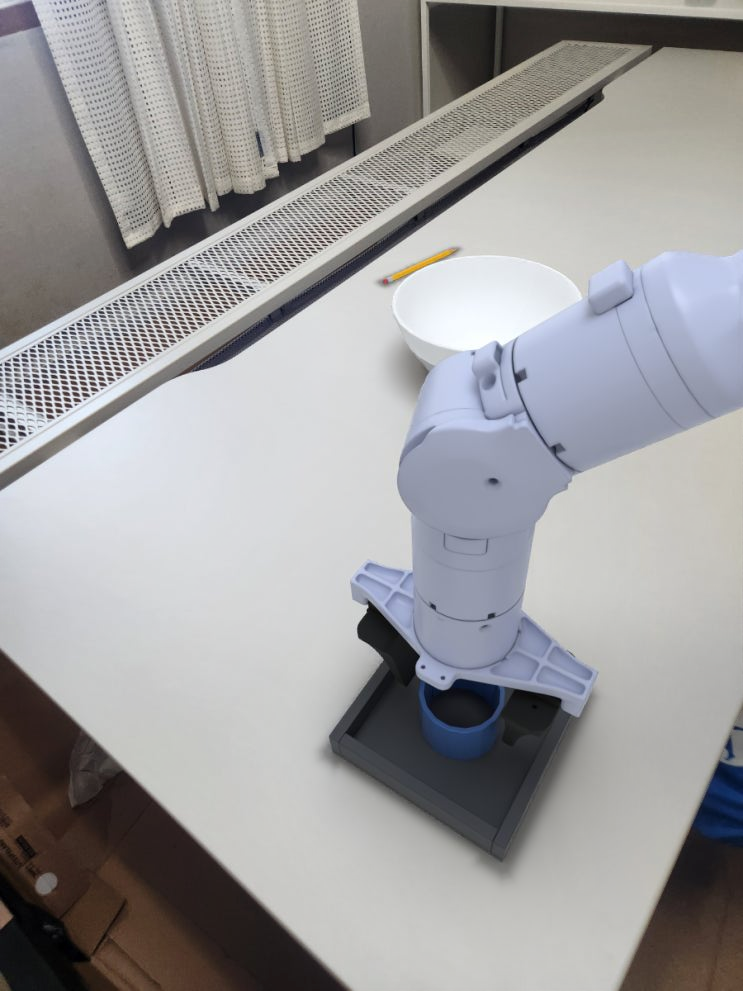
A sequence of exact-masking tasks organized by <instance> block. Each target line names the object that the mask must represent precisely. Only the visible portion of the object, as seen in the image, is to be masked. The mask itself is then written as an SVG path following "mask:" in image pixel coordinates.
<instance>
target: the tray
mask: <svg viewBox="0 0 743 991" xmlns="http://www.w3.org/2000/svg"><path fill="white" fill-rule="evenodd" d="M420 682H421V679H420V678H419V677H418V676H417V674H415V676H414V677H413V679H412V680H411V682H410V683H409V685H408V686H407V687H405V686H404V685H402V684H400V683H399V682H398V681H397V679H396V678H395V676H394V675H393V673H392V671H391V670H390V668H389V666H388V665H387V663H386V662H385V661H384V659H383V660H382V661H381V663H380V664H379V666H378V667H377V668H376V670H375V671H374V672H373V674H372V675H371V677H370V678H369V680H368V681H367V682H366V684H365V685H364V686H363V688H362V690H360V692H359V693H358V695H357V696H356V698H355V699H354V700H353V701H352V703H351V704H350V706H349V707H348V709H347V710H346V711H345V713H344V714H343V715H342V717H341V718H340V720H339V721H338V723H337V724H336V725H335V726H334V728H333V729H332V730H331V732H330V733H329V735H328V739H329V743H330V748H331V751H332V753H334V754H335V755H337V756H338V757H340V758H342V759H343V760H344V761H346V762H348V763H349V764H351V765H352V766H354V767H355V768H357V769H358V770H359V771H362V773H364V774H366V775H367V776H369V777H371V778H372V779H373V780H375V781H377V782H378V783H380V784H381V785H383V786H385V787H386V788H387V789H388V790H391V791H392V792H393V793H395V794H397V795H398V796H400V797H401V798H403V799H404V800H406V801H407V802H409V803H410V804H411V805H414V806H415V807H416V808H418V809H419V810H421V811H422V812H424V813H426V814H427V815H429V816H430V817H432V818H433V819H435V820H436V821H438V822H439V823H441V824H443V825H444V826H446V827H447V828H449V829H450V830H452V831H453V832H455V833H456V834H458V835H460V836H461V837H462V838H464V839H466V840H467V841H469V842H470V843H471V844H473V845H474V846H476V847H478V848H479V849H481V850H482V851H484V852H486V853H487V854H488V855H490V856H491V857H493V858H494V859H496V860H498V861H499V862H501V863H503V862H504V860H505V858H506V855H507V853H508V851H509V850H510V847H511V845H512V843H513V841H514V839H515V837H516V835H517V833H518V831H519V828H520V827H521V824H522V822H523V821H524V819H525V816H526V814H527V812H528V810H529V808H530V806H531V804H532V802H533V800H534V798H535V795H536V794H537V792H538V789H539V787H540V786H541V783H542V781H543V779H544V777H545V775H546V773H547V771H548V769H549V767H550V765H551V762H552V761H553V759H554V757H555V754H556V752H557V751H558V748H559V746H560V744H561V742H562V740H563V738H564V736H565V734H566V732H567V730H568V728H569V726H570V724H571V722H572V720H573V718H574V716H573V715H572V714H570V713H568V712H566V711H564V710H563V709H562V708H561V706H560V708H559V710H558V712H557V714H556V716H555V718H554V720H553V722H552V724H551V726H550V727H549V729H548V730H547V731H546V732H545V733H544V734H543V735H542V736H541V737H539V738H538V737H536V736H534V735H525V736H523V737H521V738H519V739H518V740H517V741H516V742H515V744H514V746H512V747H511V746H509V745H507V744H506V743H504V742H502V736H503V733H504V730H505V722H504V719H503V718H502V721H501V727H500V733H499V736H498V738H497V740H496V742H495V743H494V745H493V747H492V748H491V749H490V750H488V751H487V752H486V753H484V754H483V755H482V756H480V757H478V758H473V759H469V760H465V761H462V760H456V759H450V758H446V757H445V756H443V755H442V754H440V753H438V752H437V751H435V750H433V749H432V747H431V746H430V745H429V743H428V742H427V741H426V739H425V738H424V736H423V733H422V729H421V726H420V718H419V688H420ZM503 687H504V686H503ZM514 689H515V688H510V687H504V690H505V697H504V707H505V705H506V704H507V702H508V700H509V698H510V697H511V695H512V693H513V691H514ZM427 707H428V709H429V710H430V711H431V712H432V714H433V715H434V716H435V717H436V719H438V720H440V721H442V722H443V723H445V724H447V725H448V726H451V727H458V728H464V729H466V728H471V727H475V726H480V725H482V724H483V723H484V722H486V721H487V720H489V719H490V718H491V717H492V716H493V715H494V713H493V710H492V707H491V706H490V705H489V704H488V702H487V701H486V700H485V699H484V698H483V697H482V696H480V695H479V694H477V693H475V692H473V691H471V690H467V689H460V688H454V689H450V690H445V691H443V692H441V693H440V694H438V695H437V696H435V697H434V698H433V699H432V700H431V702H430V703H429V705H428V706H427ZM503 709H504V708H503Z"/></svg>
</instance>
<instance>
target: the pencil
mask: <svg viewBox="0 0 743 991" xmlns="http://www.w3.org/2000/svg"><path fill="white" fill-rule="evenodd" d="M457 250H458V248H452V249H447V250H445V251H442V252H440V253H438V254H436V255H434V256H432V257H430V258H427V259H425V260H423V261H420V262H419V263H417V264H414V265H412V266H410V267H408V268H406V269H404V270H401V271H399V272H397V273H395V274H393V275H390V276H388V277H386V278H384V279H382V284H384V285H387V284H389V283H391V282H394V281H396V280H398V279H400V278H402V277H405V276H406V275H410V274H412V273H414V272H416V271H418V270H420V269H422V268H424V267H426V266H428V265H431V264H434V263H436V262H437V261H439V260H441V259H443V258H446V257H447V256H450V255H452V254H453V253H454V252H456V251H457Z"/></svg>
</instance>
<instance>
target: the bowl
mask: <svg viewBox="0 0 743 991" xmlns="http://www.w3.org/2000/svg"><path fill="white" fill-rule="evenodd" d="M582 299H583V297H582V293H581V291H580V290H579V289H578V287H577V285H576V283H574V282H573V281H572V280H571V279H570V278H569V277H568V276H566V275H564V274H563V273H561V272H560V271H558V270H556V269H555V268H553V267H550V266H548V265H545V264H543V263H540V262H537V261H533V260H529V259H526V258H522V257H521V258H520V257H514V256H509V255H508V256H507V255H497V254H496V255H493V254H483V255H482V254H481V255H478V254H477V255H468V256H467V255H466V256H458V257H454V258H448V259H445V260H441V261H438V262H437V261H436V262H433V263H430V264H428V265H426V266H424V267H422V268H420V269H418V270H415V271H413V272H412V273H410V274H409V275H408V276H407V277H405V279H403V281H402V282H401V283H399V285H398V286H397V287H396V289H395V291H394V293H393V295H392V299H391V305H390V307H391V311H392V316H393V318H394V321H395V323H396V325H397V327H398V329H399V331H400V333H401V335H402V338H403V339H404V341H405V343H406V344H407V346H408V348H409V349H410V350H411V351H412V353H413V354H414V355H415V357H416V359H418V360H419V362H420V363H421V364H422V365H423V367H424V368H425V369H426V370H427V371H428V373H429V372H430V371H431V370H432V369H433V368H434V367H435V366H436V365H437V364H438V363H440V362H441V361H442V360H444V359H445V358H447V357H450V356H452V355H454V354H457V353H460V352H464V351H468V350H476V349H480V348H482V347H483V346H485V345H487V344H488V343H490V342H492V341H494V340H495V341H498V342H499V343H500V345H501V346H502V345H504V344H506V343H508V342H509V341H511V340H513V339H514V338H516V337H518V336H520V335H521V334H523V333H525V332H526V331H528V330H530V329H532V328H533V327H535V326H537V325H539V324H540V323H542V322H544V321H545V320H547V319H549V318H551V317H552V316H554V315H556V314H558V313H559V312H561V311H563V310H565V309H566V308H568V307H570V306H571V305H573V304H575V303H577V302H578V301H580V300H582Z"/></svg>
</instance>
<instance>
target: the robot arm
mask: <svg viewBox="0 0 743 991" xmlns="http://www.w3.org/2000/svg"><path fill="white" fill-rule="evenodd" d="M587 288H588V293H587V296H586V297H584V298H582V300H580V301H578V302H577V303H575V304H573V305H571V306H570V307H568V308H566V309H565V310H563V311H561V312H559V313H558V314H556V315H554V316H552V317H551V318H549V319H547V320H545V321H544V322H542V323H540V324H539V325H537V326H535V327H533V328H532V329H530V330H528V331H526V332H525V333H523V334H521V335H520V336H518V337H516V338H514V339H513V340H511V341H509V342H508V343H506V344H504V345H502V346H501V345H500V343H499V342H498V341H495V340H494V341H492V342H490V343H488V344H487V345H485V346H483V347H482V348H480V349H476V350H468V351H464V352H460V353H457V354H454V355H452V356H450V357H447V358H445V359H444V360H442V361H441V362H440V363H438V364H437V365H436V366H435V367H434V368H433V369H432V370H431V371H430V372H429V371H428V373H427V375H426V376H425V378H424V382H423V383H422V385H421V388H420V389H419V391H418V396H417V397H418V398H417V400H416V404H415V406H414V407H415V408H414V410H413V414H412V417H411V421H410V424H409V426H408V430H407V433H406V437H405V440H404V443H403V446H402V450H401V454H400V456H399V461H398V470H397V475H396V486H397V490H398V494H399V496H400V499H401V501H402V502H403V504H404V505H405V507H406V508H407V509H408V510H409V512H410V513H411V514H410V527H411V529H410V530H411V551H412V552H411V555H412V556H411V557H412V558H411V559H412V570H411V569H406V568H398V567H393V566H388V565H385V564H381V563H379V562H377V561H374V560H372V559H369V558H367V559H366V561H365V562H364V563H363V564H362V565H361V566H360V568H359V569H358V570H357V571H356V572H355V573H354V575H353V576H352V577H351V579H350V580H349V584H350V591H351V598H352V600H353V601H355V602H357V603H358V604H360V605H362V606H367V608H366V613H365V614H364V615H363V617H362V618H361V619H360V621H359V622H358V623H357V626H356V633H357V634H356V635H357V638H358V640H360V641H362V642H364V643H365V644H367V645H368V646H369V647H371V648H372V649H373V650H374V651H375V652H376V653H377V654H379V656H380V657H381V658H382V659H383V660H384V661H385V662H386V663H387V665H388V666H389V668H390V670H391V671H392V673H393V675H394V676H395V678H396V679H397V681H398V682H399V683H400V684H402V685H404V686H405V687H407V686H408V685H409V683H410V682H411V680H412V679H413V677H414V676H415V674H417V676H418V677H419V678H420V679H421V680H423V681H425V682H427V683H428V684H430V685H432V686H434V687H436V688H437V689H440V690H446V689H449V688H450V687H451V686H452V684H453V682H454V681H455V680H456V679H460V678H461V679H467V680H472V681H477V682H483V683H488V684H493V685H499V686H504V687H510V688H515V689H514V691H513V693H512V695H511V697H510V698H509V700H508V702H507V704H506V705H505V707H504V709H503V711H502V713H501V716H500V717H501V718H503V719H504V722H505V730H504V733H503V736H502V742H504V743H506V744H507V745H509V746H511V747H512V746H514V744H515V742H516V741H517V740H518V739H519V738H521V737H523V736H525V735H534V736H536V737H538V738H539V737H541V736H542V735H543V734H544V733H545V732H546V731H547V730H548V729H549V727H550V726H551V724H552V722H553V720H554V718H555V716H556V714H557V712H558V710H559V708H560V706H561V708H562V709H563V710H564V711H566V712H568V713H570V714H572V715H573V717H575V718H580V717H581V714H582V712H583V710H584V708H585V706H586V704H587V702H588V700H589V698H590V695H591V694H592V692H593V690H594V686H595V683H596V680H597V677H598V675H599V671H598V670H597V669H595V668H593V667H591V666H589V665H588V664H586V663H584V662H582V661H581V660H580V659H578V658H577V657H576V656H575V655H574V654H573V653H572V652H570V651H569V650H567V649H565V648H564V646H562V645H561V644H560V643H559V642H558V641H557V640H556V639H554V637H553V636H551V635H550V634H549V633H548V632H547V631H546V630H545V629H544V628H542V627H541V625H539V624H538V623H537V622H536V621H535V620H534V619H533V618H531V616H530V615H528V614H527V613H526V612H525V611H524V610H523V609H522V608H523V602H524V596H525V592H526V585H527V579H528V571H529V566H530V560H531V554H532V548H533V542H534V535H535V532H536V531H535V530H536V524H537V523H538V522H539V520H540V519H541V518H542V517H543V516H544V514H545V512H546V510H547V508H548V506H549V503H550V501H551V500H552V499H553V498H554V497H555V496H557V495H558V494H560V493H562V492H565V491H567V490H568V489H569V484H571V483H572V482H573V477H574V476H577V475H580V474H582V473H585V472H588V471H590V470H592V469H594V468H597V467H599V466H601V465H604V464H607V463H609V462H612V461H615V460H617V459H619V458H621V457H624V456H627V455H629V454H632V453H634V452H636V451H639V450H642V449H644V448H646V447H649V446H652V445H654V444H656V443H659V442H662V441H664V440H667V439H668V438H669V439H670V438H672V437H673V436H676V435H679V434H681V433H683V432H686V431H689V430H691V429H693V428H696V427H698V426H701V425H703V424H706V423H707V422H711V421H713V420H715V419H718V418H721V417H724V416H726V415H729V414H731V413H734V412H736V411H739V410H741V409H742V408H743V248H742V249H740V250H739V251H736V252H735V253H733V254H732V255H724V256H723V255H712V254H705V253H699V252H692V251H686V250H674V249H672V250H671V249H670V250H666V251H664V252H661V253H660V254H658V255H656V256H655V257H653V258H651V259H650V260H647V261H646V262H645V263H643V264H641V265H639V266H637V267H635V268H634V269H631V267H630V266H629V265H628V263H627V261H626V260H624V259H618V260H616V261H615V262H613V263H611V264H609V265H608V266H606V267H604V268H603V269H601V270H600V271H598V272H595V274H593V275H591V276H590V277H589V279H588V287H587Z"/></svg>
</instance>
